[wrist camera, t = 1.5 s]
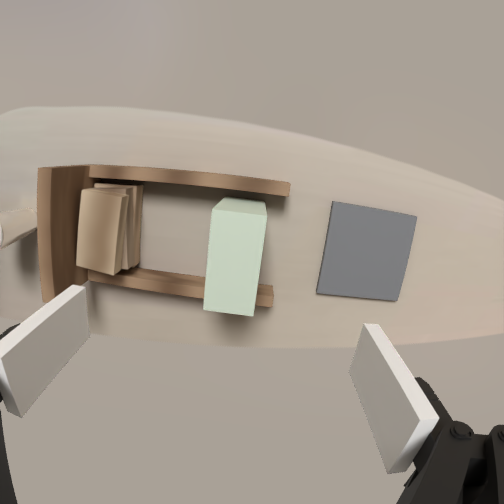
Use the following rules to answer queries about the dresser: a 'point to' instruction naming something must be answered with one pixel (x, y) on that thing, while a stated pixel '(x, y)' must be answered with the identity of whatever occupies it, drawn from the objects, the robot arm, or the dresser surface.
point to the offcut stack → (109, 227)
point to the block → (234, 255)
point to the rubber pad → (365, 252)
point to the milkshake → (16, 225)
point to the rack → (67, 219)
